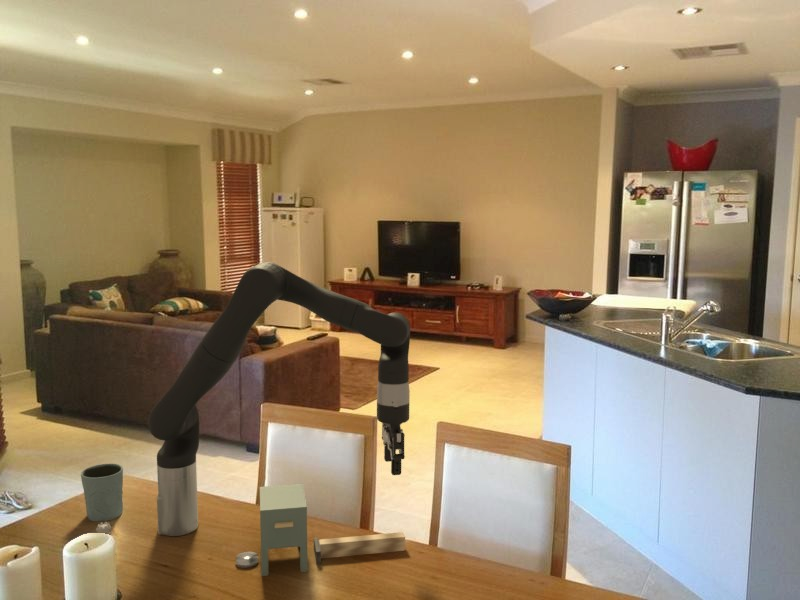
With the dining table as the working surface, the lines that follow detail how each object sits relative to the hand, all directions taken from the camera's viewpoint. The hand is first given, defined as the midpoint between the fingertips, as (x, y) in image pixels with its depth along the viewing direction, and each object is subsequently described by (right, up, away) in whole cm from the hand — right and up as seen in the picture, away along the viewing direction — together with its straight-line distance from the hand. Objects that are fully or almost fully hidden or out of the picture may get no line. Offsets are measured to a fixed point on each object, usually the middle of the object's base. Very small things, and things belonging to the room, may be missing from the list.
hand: (392, 467), depth 160 cm
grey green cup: (-76, -17, +20) cm, 80 cm away
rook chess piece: (-66, -20, -3) cm, 69 cm away
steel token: (-33, -21, -4) cm, 39 cm away
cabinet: (-25, -20, -3) cm, 32 cm away
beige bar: (-7, -20, +1) cm, 21 cm away
